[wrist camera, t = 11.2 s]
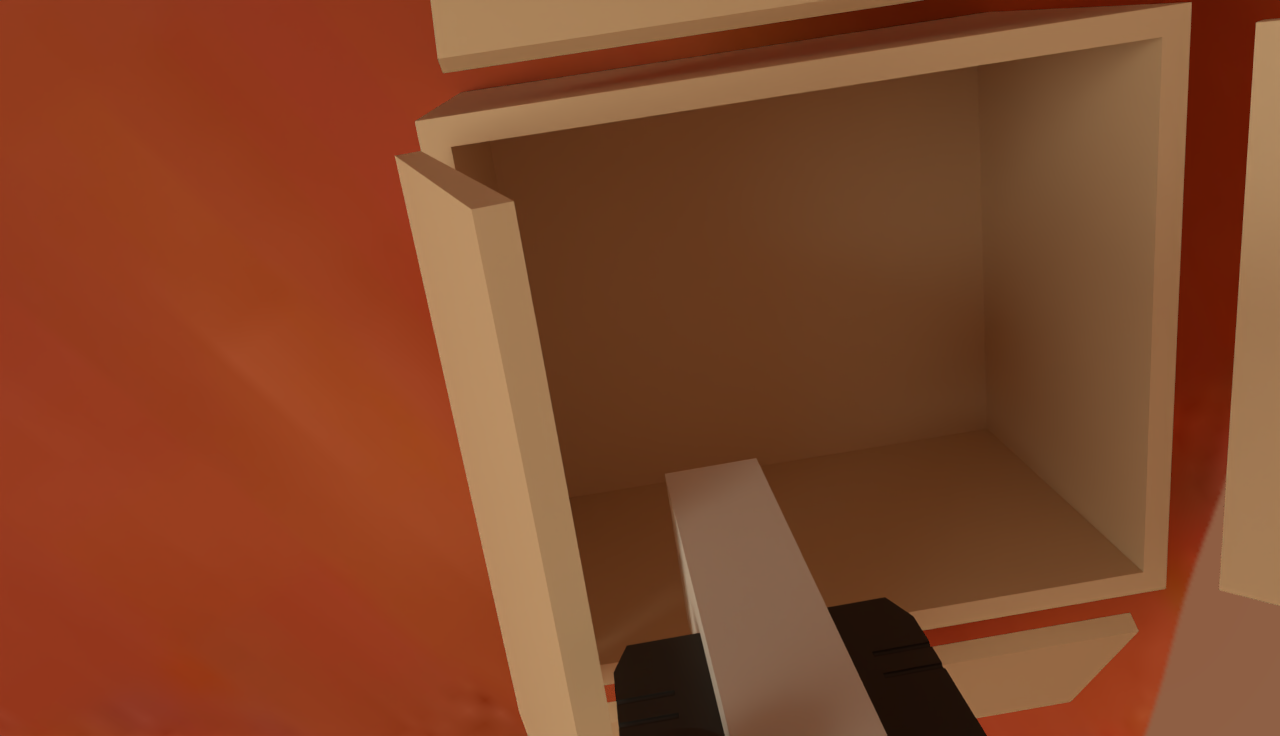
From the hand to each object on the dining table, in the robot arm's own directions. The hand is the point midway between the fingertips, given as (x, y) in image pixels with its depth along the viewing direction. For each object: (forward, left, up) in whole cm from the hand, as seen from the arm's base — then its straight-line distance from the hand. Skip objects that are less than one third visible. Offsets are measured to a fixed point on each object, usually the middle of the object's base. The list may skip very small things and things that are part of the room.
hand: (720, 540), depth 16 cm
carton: (+4, 0, -16) cm, 17 cm away
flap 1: (-3, 0, -1) cm, 3 cm away
